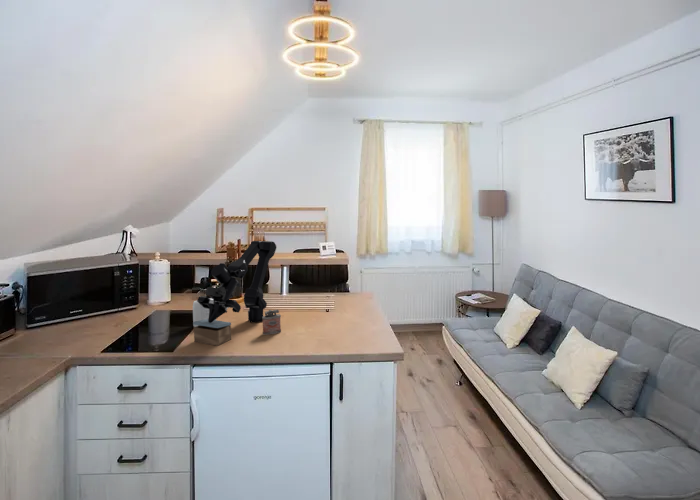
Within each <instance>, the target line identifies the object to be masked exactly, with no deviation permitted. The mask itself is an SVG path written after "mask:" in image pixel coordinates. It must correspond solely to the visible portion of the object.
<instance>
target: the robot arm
mask: <svg viewBox="0 0 700 500" xmlns="http://www.w3.org/2000/svg"><path fill="white" fill-rule="evenodd" d="M276 251H277V244H276V243H275V242H274V241H272V240H271V241H270V240H267V241H266V240H265V241H264V240H252V241H251V242H250V245H249V246H248V247H247V248H246V249H245V250H244V251H243V253H242V254H241V256H240V257H238V259H236V260H234V261H232V262H231V263H230V264H229V265H226V264H225V263H222V262H220V263H219V264H218V265H216V266H215V267H213V268H212V269H211V272H210V273H211V276H212V277H213V278H214V279H215V280H216V281H217V283H218V284H221V285H220V286H219V287H213V286H212V287H211V286H208V287H207V288H206V293H205V295H206V296H205V295H204V296H202V295H200V296H199V297H198V298H197V302H198V303H199V304H200V305H201V306H202V307H204V308H208V309H209V319H208V322H209V323H211V322H213V321H214V320H215V319H216V320H217V319H218V318H220V317H221V316H222V315H224V314H225V313H226V314H227V313H228V309H229V308H230V309H232V312H233V313H240V311H241V309H242V307H241V304H239V303H238V301H237V300H235V299H232V298H233V297H234V295H233V293H234V291H235V289H236V288H237V287H238V288H240V287H241V284H240V280H237V279H243V278H244V277H245V276H246V275H247V272H248V267H249V265H250V264H251V263H252V261H253V260H254V259H255V257H256V256H257V255H258V260H257V263H256V268H255V271H254V275H253V279H252V282H251V285H250V287H249V288H248V287H247V288H245V290H244V295H243V302H244V306H245V308H246V309H248V310H247V320H248V322H249V323H251V324H252V323H261V322H262V323H263V319H262V317H263V316H264V310H265V309H266V308H267V305H268V303H267V301H266V300H265V299H264V292H263V289H262V288H263V286H264V281H265V277H266V274H267V269H268V265H269V262H270V260H271V259H272V258H273V257H274V255H275V253H276ZM209 296H210V298H211V299H214V300H210V299H209Z"/></svg>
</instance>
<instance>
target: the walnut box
mask: <svg viewBox="0 0 700 500" xmlns="http://www.w3.org/2000/svg"><path fill="white" fill-rule="evenodd" d="M231 325H232V324H231ZM231 325H229V326H225V327H220V328H213V327H207V326H200V325H199V326H196V327H194V326H193V339H194V342H195V343H198V344H205V345H211V346H216V347H218V346H221V345H223V344H226V343H228V342H229V341H231V340H232V332H231V331H232V328H231Z"/></svg>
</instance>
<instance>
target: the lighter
mask: <svg viewBox="0 0 700 500" xmlns="http://www.w3.org/2000/svg"><path fill="white" fill-rule="evenodd" d="M281 316H282V315H281V314H280V310H279V309H273V310H272V309H269V310H268V311H267V310H265V312H264V315H263V317H262V319H263V322H262V335H263V336H264V335H265V336H266V335H275V334H279V333H282V328H281V326H282V325H281Z"/></svg>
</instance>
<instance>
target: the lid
mask: <svg viewBox="0 0 700 500" xmlns="http://www.w3.org/2000/svg"><path fill="white" fill-rule="evenodd" d="M193 324H194V325H200V326H207V327H213V328H220V327H225V326H229V325H232V322H229V321H222V320H217V319H216V320H214V321H213V322H211V323H209V322H208V319H205V320H200V321H195V322H192V325H193Z"/></svg>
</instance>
